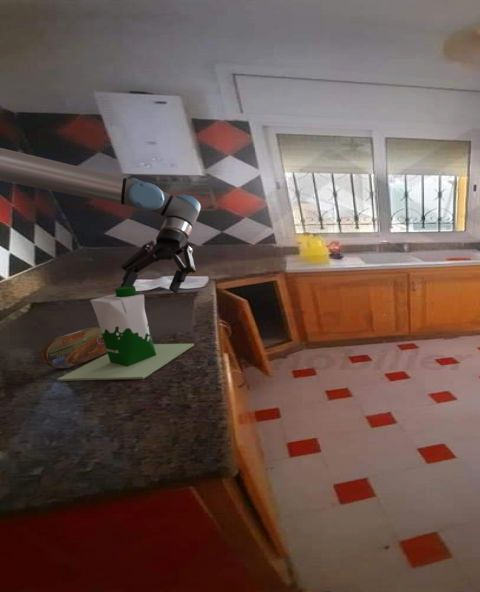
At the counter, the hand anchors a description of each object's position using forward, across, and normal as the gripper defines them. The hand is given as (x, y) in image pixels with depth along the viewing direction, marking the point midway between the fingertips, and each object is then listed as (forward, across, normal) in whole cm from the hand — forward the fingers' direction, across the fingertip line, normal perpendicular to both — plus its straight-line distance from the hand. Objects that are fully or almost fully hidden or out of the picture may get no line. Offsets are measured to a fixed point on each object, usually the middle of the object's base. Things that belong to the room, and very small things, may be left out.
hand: (148, 290), depth 93 cm
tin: (+19, +14, -6) cm, 24 cm away
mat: (+20, 0, -5) cm, 20 cm away
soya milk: (+20, 0, -5) cm, 20 cm away
